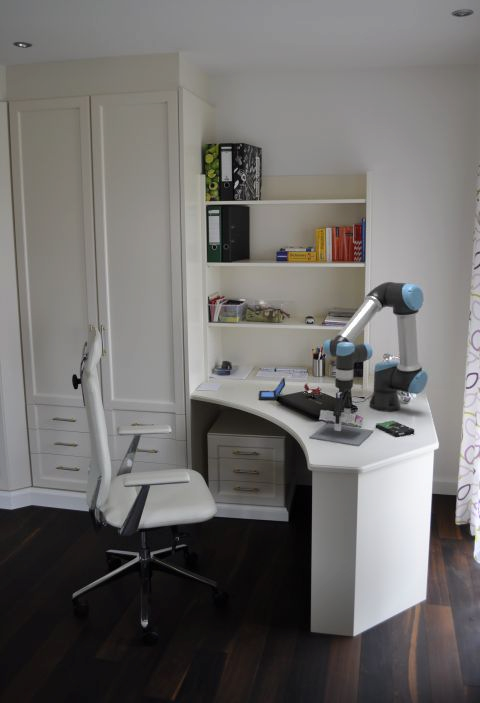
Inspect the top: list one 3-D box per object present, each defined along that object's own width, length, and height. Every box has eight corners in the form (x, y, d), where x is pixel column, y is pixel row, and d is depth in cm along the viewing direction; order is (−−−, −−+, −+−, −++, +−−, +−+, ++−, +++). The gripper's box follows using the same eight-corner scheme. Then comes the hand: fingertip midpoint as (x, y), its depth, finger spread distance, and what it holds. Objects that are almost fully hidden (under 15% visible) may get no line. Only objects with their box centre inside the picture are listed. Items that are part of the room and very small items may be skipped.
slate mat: (326, 424, 310) (326, 423, 310) (373, 431, 300) (373, 430, 300) (309, 438, 291) (309, 436, 290) (358, 446, 281) (358, 445, 281)
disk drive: (414, 435, 298) (392, 425, 311) (415, 429, 297) (393, 419, 310) (396, 438, 293) (374, 428, 306) (396, 432, 292) (375, 422, 305)
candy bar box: (327, 412, 303) (363, 417, 296) (326, 423, 302) (361, 428, 295) (320, 408, 293) (357, 413, 286) (318, 420, 292) (355, 425, 285)
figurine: (330, 400, 351) (330, 388, 349) (310, 402, 346) (310, 389, 345) (316, 393, 364) (317, 381, 363) (297, 395, 360) (297, 383, 359)
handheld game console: (259, 393, 365) (259, 376, 363) (284, 393, 364) (284, 377, 362) (259, 401, 349) (259, 383, 347) (284, 401, 349) (285, 384, 347)
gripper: (344, 371, 302) (342, 418, 307) (326, 383, 281) (324, 433, 286) (360, 373, 299) (358, 420, 303) (343, 385, 278) (341, 435, 282)
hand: (342, 426), depth 295 cm, fingers closed on candy bar box, 12 cm apart
